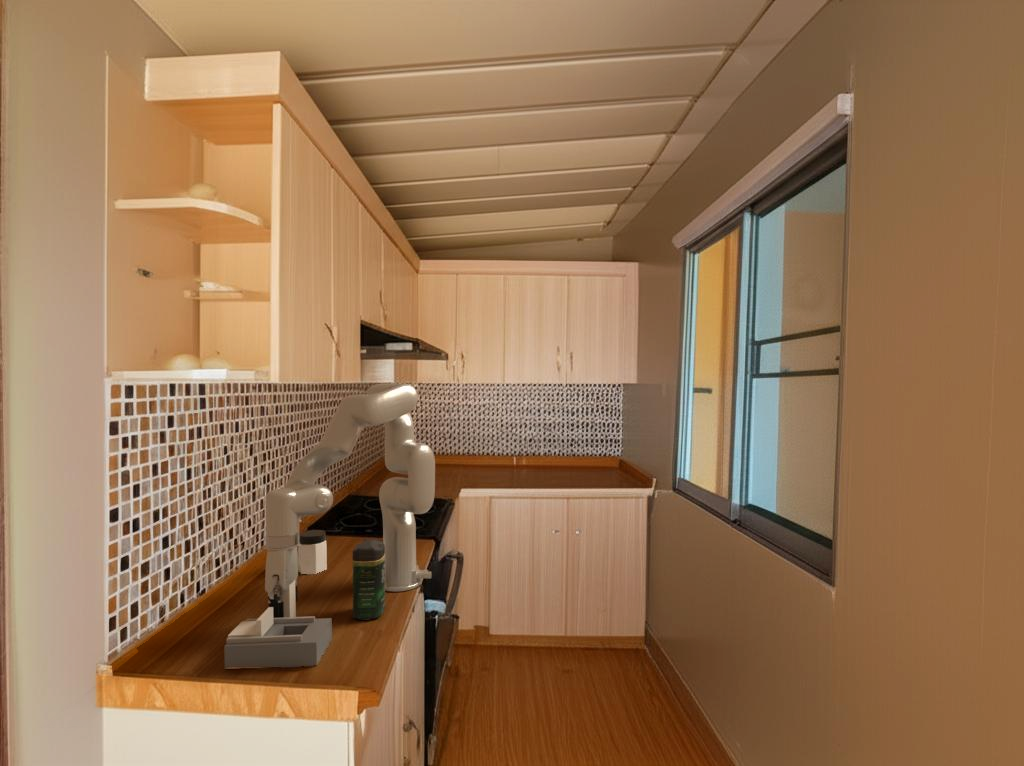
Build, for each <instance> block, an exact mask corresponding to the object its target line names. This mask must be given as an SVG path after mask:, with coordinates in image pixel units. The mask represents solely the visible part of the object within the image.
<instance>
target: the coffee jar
mask: <svg viewBox="0 0 1024 766" xmlns="http://www.w3.org/2000/svg"><path fill="white" fill-rule="evenodd" d="M351 557H352V617H353V618H354V619H358V620H361V621H370V620H372V619H376V618H380V617H381V616H382V615H383V613H384V612H385V609H386V591H385V545H384V543H383V541H381V540H380V539H364V540H363V541H361V542H359V543H358V544H356V546H355V547H354V548H353V550H352V556H351Z"/></svg>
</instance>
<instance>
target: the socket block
mask: <svg viewBox="0 0 1024 766" xmlns="http://www.w3.org/2000/svg"><path fill="white" fill-rule="evenodd" d="M258 618H259V617H258ZM258 618H246V619H245V620H244V621H256V620H257V619H258ZM332 619H333V618H331V617H329V618H327V617H325V618H316V616H314V615H313V616H312V615H311V616H296V617H283V618H273V623H274V624H273V625H272V626H271V627H270V628H269V630H268V631H267V632H266V633H265V634H264V635H263V636H253V637H228V636H227V638H226V644H225V645H224V647H223V649H224V669H225V668H228V667H281V668H299V667H301V666H304V667H317V666H318V665H317V664H319V663H320V661H321V660H322V658H321V657H323V656H324V654H325V653H326V651H325V650H327V649H326V648H328V647H329V646H330V644H331V642H332V640H333V629H332V628H333V624H332V621H333V620H332ZM330 641H331V642H330ZM329 643H330V644H329ZM322 655H323V656H322ZM318 662H319V663H318ZM314 665H315V666H314ZM316 665H317V666H316Z"/></svg>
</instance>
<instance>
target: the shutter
mask: <svg viewBox="0 0 1024 766" xmlns="http://www.w3.org/2000/svg"><path fill="white" fill-rule="evenodd" d="M256 619H257V618H256ZM273 624H274V623H273V607H269V606H268V607H267V609H266V610H265V611H264V612H263V613H261V615H259V617H258V619H257V620H256V621H245V620H244V621H241V622H239V624H238V625H236V626H235V628H234V629H232V631H231V632H230V633H229V634H228V635H227V638H228V637H253V636H263V635H264V634H265V633H266V632H267V631H268V630H269V628H270V627H271V626H272V625H273Z"/></svg>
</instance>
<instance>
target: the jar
mask: <svg viewBox="0 0 1024 766" xmlns="http://www.w3.org/2000/svg"><path fill="white" fill-rule="evenodd" d="M299 543H300V544H299V546H297V553H298V573H300V574H301V575H302V574H307V575H317V573H318V574H320V573H322V571H323V572H325V571H327V570H328V564H327V563H328V560H327V559H328V558H327V557H328V554H327V552H328V551H327V548H328V547H327V540H326V531H325V530H322V529H311V530H305V531H302V532H299ZM324 570H325V571H324ZM319 572H320V573H319Z"/></svg>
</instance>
